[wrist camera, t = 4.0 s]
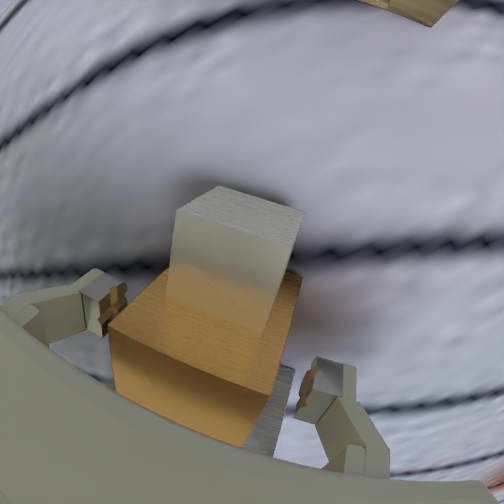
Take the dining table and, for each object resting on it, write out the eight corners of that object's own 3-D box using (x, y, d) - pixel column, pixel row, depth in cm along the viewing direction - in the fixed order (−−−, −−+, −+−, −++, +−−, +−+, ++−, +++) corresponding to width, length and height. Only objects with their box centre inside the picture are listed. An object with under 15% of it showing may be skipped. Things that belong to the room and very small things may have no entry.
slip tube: (326, 212, 10) (312, 306, 5) (227, 451, 19) (200, 514, 14) (210, 175, 11) (103, 228, 6) (173, 429, 20) (140, 488, 14)
